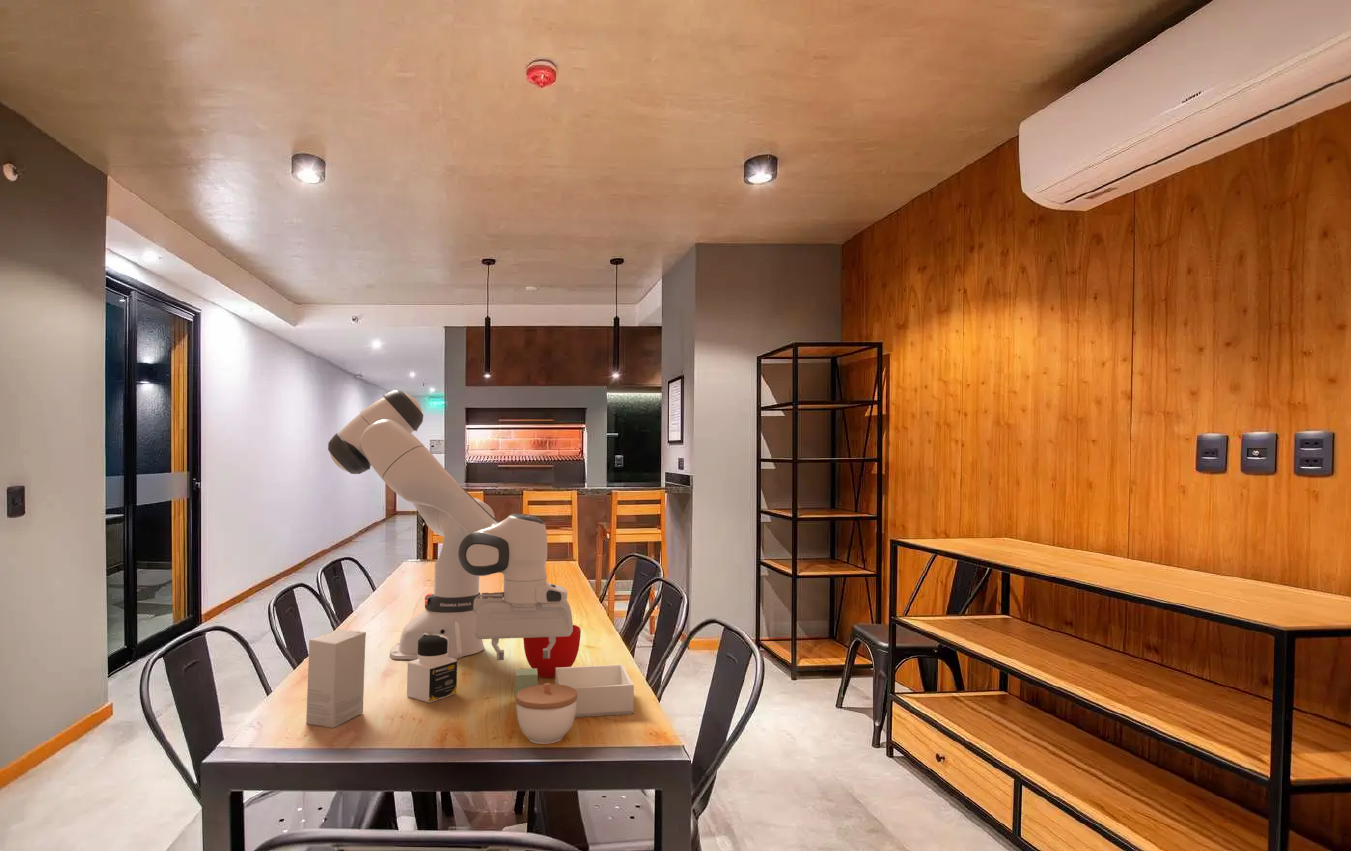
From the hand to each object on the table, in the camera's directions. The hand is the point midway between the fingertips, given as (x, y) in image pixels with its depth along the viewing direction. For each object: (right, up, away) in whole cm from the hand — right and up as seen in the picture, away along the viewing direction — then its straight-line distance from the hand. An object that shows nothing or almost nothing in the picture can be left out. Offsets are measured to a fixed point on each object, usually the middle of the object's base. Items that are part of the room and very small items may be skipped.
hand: (523, 658), depth 152 cm
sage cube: (+1, -7, 0) cm, 7 cm away
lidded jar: (+9, -7, -23) cm, 26 cm away
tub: (+15, -7, -6) cm, 18 cm away
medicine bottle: (-18, -7, -2) cm, 20 cm away
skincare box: (-32, -6, -16) cm, 36 cm away
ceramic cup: (+3, -8, +16) cm, 18 cm away
